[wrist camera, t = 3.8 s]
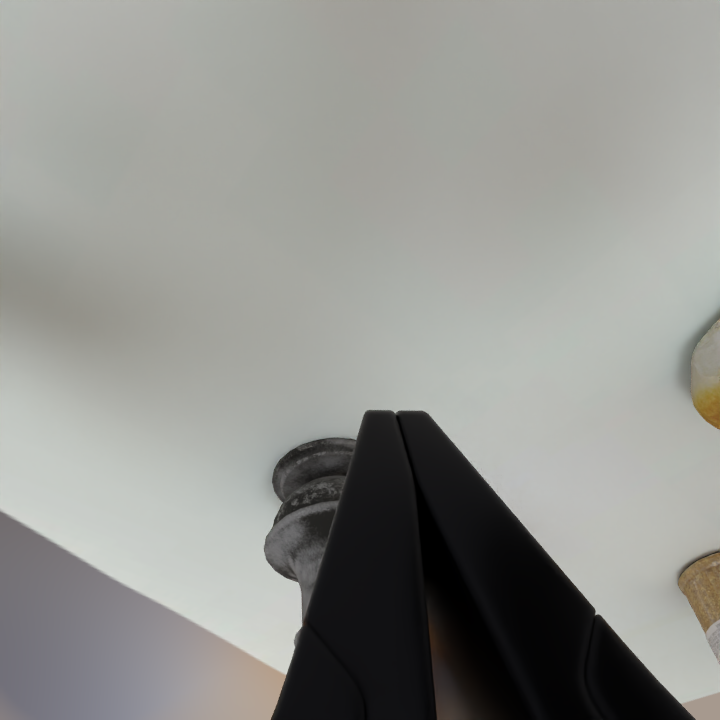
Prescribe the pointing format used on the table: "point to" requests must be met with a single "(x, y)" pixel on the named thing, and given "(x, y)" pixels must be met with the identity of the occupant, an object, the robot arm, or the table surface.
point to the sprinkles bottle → (705, 596)
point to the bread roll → (707, 376)
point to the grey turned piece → (306, 509)
